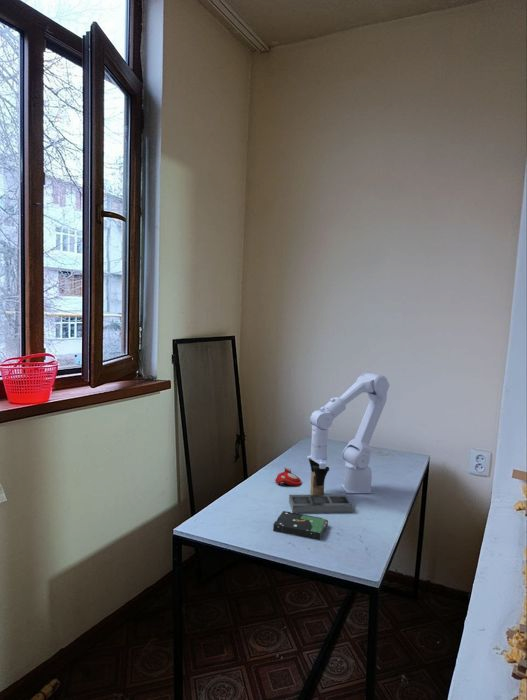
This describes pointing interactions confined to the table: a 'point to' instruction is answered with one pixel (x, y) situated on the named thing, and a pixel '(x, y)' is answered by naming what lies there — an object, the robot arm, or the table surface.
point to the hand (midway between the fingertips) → (317, 481)
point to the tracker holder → (288, 478)
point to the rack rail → (320, 504)
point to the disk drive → (300, 525)
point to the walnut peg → (314, 488)
